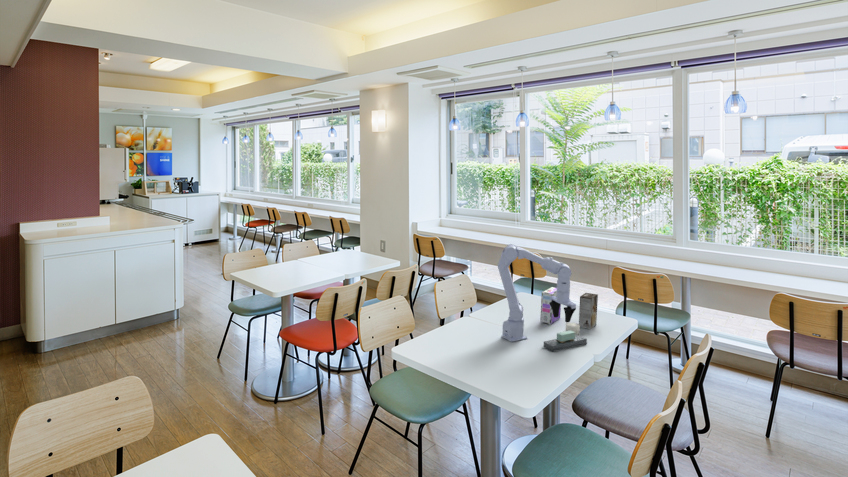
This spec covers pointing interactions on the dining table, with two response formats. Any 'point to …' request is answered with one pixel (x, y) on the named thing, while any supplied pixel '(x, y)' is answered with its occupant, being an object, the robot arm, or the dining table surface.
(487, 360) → the dining table surface
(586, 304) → the coffee box
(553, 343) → the rail
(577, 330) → the white dome cap
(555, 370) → the dining table surface
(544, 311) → the candy box
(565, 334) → the green toy bench
